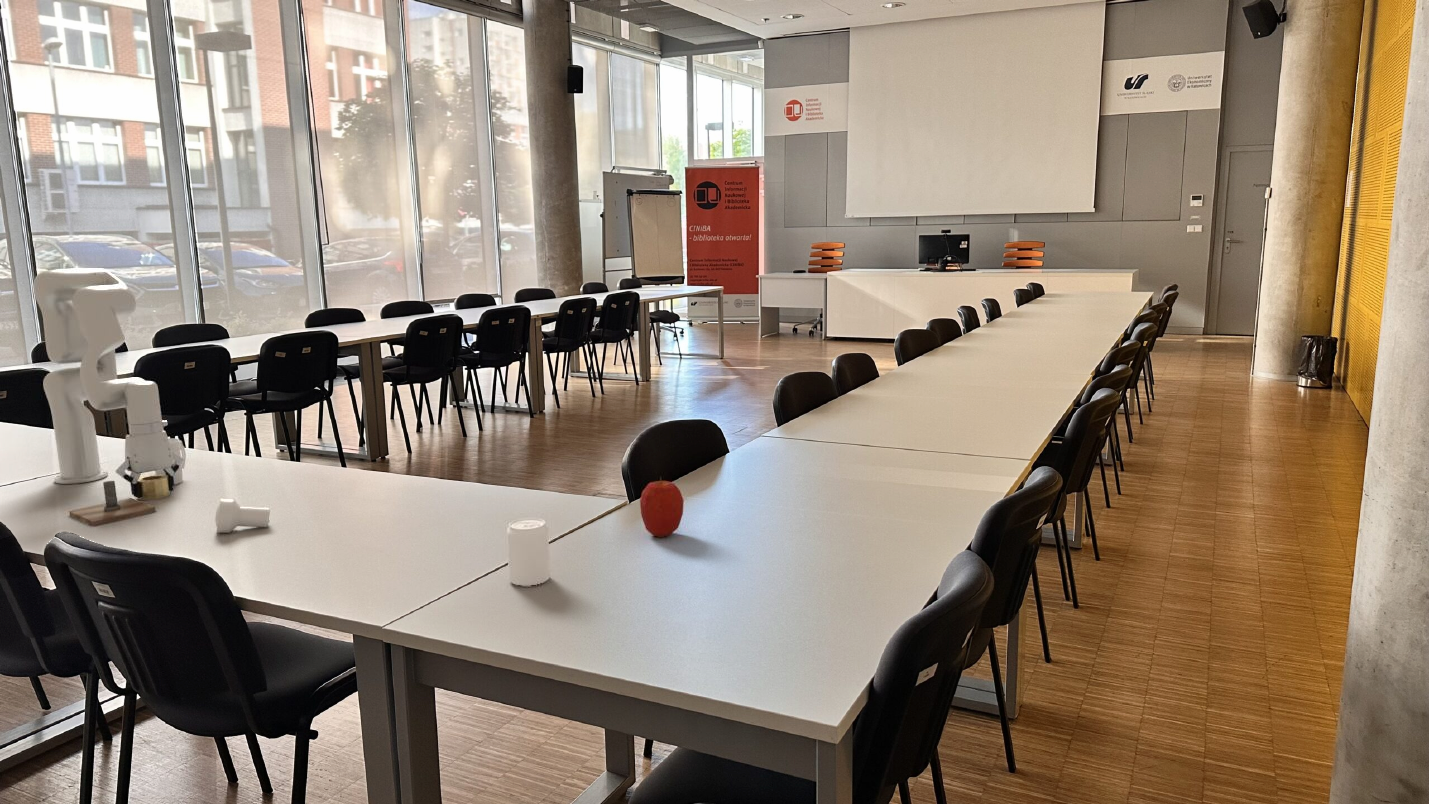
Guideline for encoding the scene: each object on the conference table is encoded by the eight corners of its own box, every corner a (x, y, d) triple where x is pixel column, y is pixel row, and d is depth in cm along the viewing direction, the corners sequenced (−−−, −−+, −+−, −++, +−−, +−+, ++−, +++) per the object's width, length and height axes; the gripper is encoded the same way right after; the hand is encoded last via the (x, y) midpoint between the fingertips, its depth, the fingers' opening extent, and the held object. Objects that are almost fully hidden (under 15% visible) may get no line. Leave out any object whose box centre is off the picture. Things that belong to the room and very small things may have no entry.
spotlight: (214, 522, 220) (218, 491, 218) (267, 525, 225) (271, 495, 223) (212, 538, 213) (217, 506, 211) (267, 540, 218) (271, 509, 216)
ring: (133, 497, 245) (131, 478, 244) (162, 490, 251) (160, 472, 250) (145, 501, 241) (143, 483, 240) (174, 495, 247) (172, 477, 246)
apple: (667, 545, 206) (666, 485, 204) (630, 537, 211) (629, 478, 209) (692, 532, 215) (692, 474, 212) (657, 525, 220) (656, 468, 217)
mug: (171, 486, 255) (166, 444, 253) (150, 485, 256) (145, 443, 254) (198, 477, 264) (193, 436, 262) (177, 476, 266) (172, 435, 263)
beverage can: (511, 573, 190) (509, 517, 188) (551, 572, 190) (549, 516, 188) (506, 589, 182) (503, 530, 180) (548, 587, 183) (545, 529, 180)
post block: (69, 515, 230) (65, 483, 228) (131, 502, 241) (127, 471, 239) (93, 526, 221) (88, 493, 220) (155, 511, 232) (152, 480, 231)
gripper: (174, 421, 252) (181, 484, 255) (102, 432, 238) (111, 499, 241) (187, 424, 247) (194, 488, 251) (115, 436, 233) (124, 504, 237)
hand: (153, 493), depth 246 cm, fingers closed on ring, 7 cm apart
